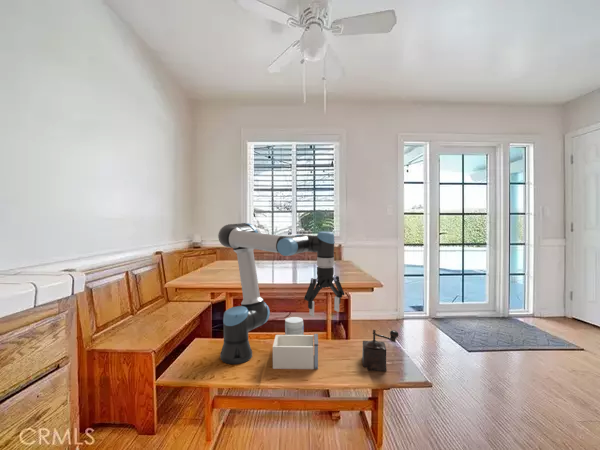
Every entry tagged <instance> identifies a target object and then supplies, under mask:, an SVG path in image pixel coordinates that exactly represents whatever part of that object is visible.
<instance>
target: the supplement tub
mask: <svg viewBox="0 0 600 450" xmlns="http://www.w3.org/2000/svg"><path fill="white" fill-rule="evenodd" d="M284 321H285V322H284V331H285V332H284V335H305V333H304V329H305V328H304V320H303V318H302V317H299V316H291V317H287V318H285V319H284Z"/></svg>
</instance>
